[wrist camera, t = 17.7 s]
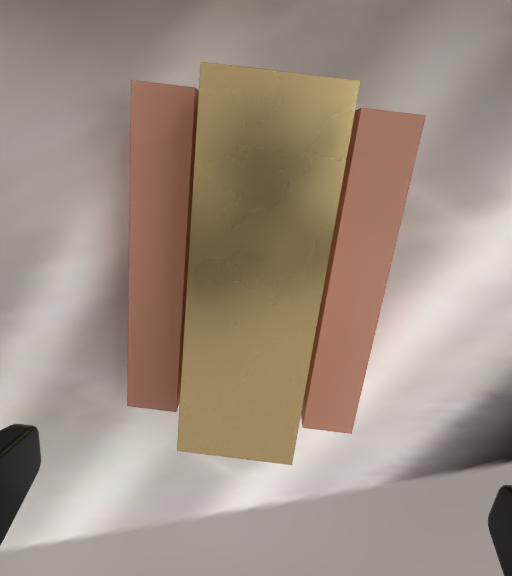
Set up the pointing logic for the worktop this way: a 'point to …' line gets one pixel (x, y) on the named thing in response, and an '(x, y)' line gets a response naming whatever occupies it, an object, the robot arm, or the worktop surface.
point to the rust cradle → (340, 270)
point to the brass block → (258, 254)
